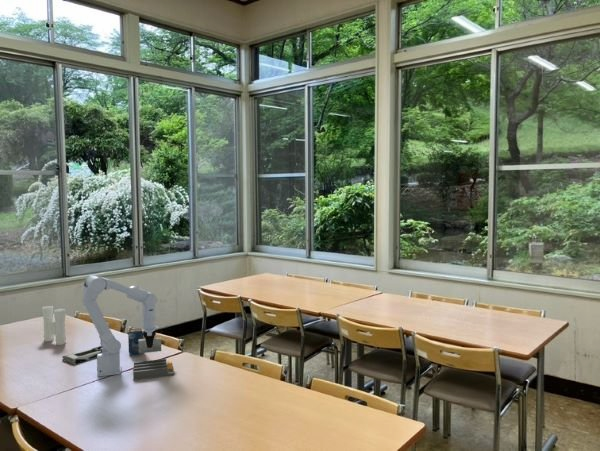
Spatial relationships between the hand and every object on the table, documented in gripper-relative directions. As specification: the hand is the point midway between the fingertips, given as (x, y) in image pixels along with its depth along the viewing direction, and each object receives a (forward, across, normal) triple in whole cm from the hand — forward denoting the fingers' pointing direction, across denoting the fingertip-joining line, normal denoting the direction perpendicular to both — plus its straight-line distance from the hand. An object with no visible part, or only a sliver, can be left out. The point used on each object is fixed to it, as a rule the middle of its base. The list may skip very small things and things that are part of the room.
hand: (149, 346), depth 220 cm
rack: (+8, -12, -1) cm, 15 cm away
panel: (+2, 0, 0) cm, 2 cm away
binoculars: (+8, +51, +48) cm, 71 cm away
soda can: (+8, +16, +6) cm, 19 cm away
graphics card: (+9, +20, +26) cm, 34 cm away
